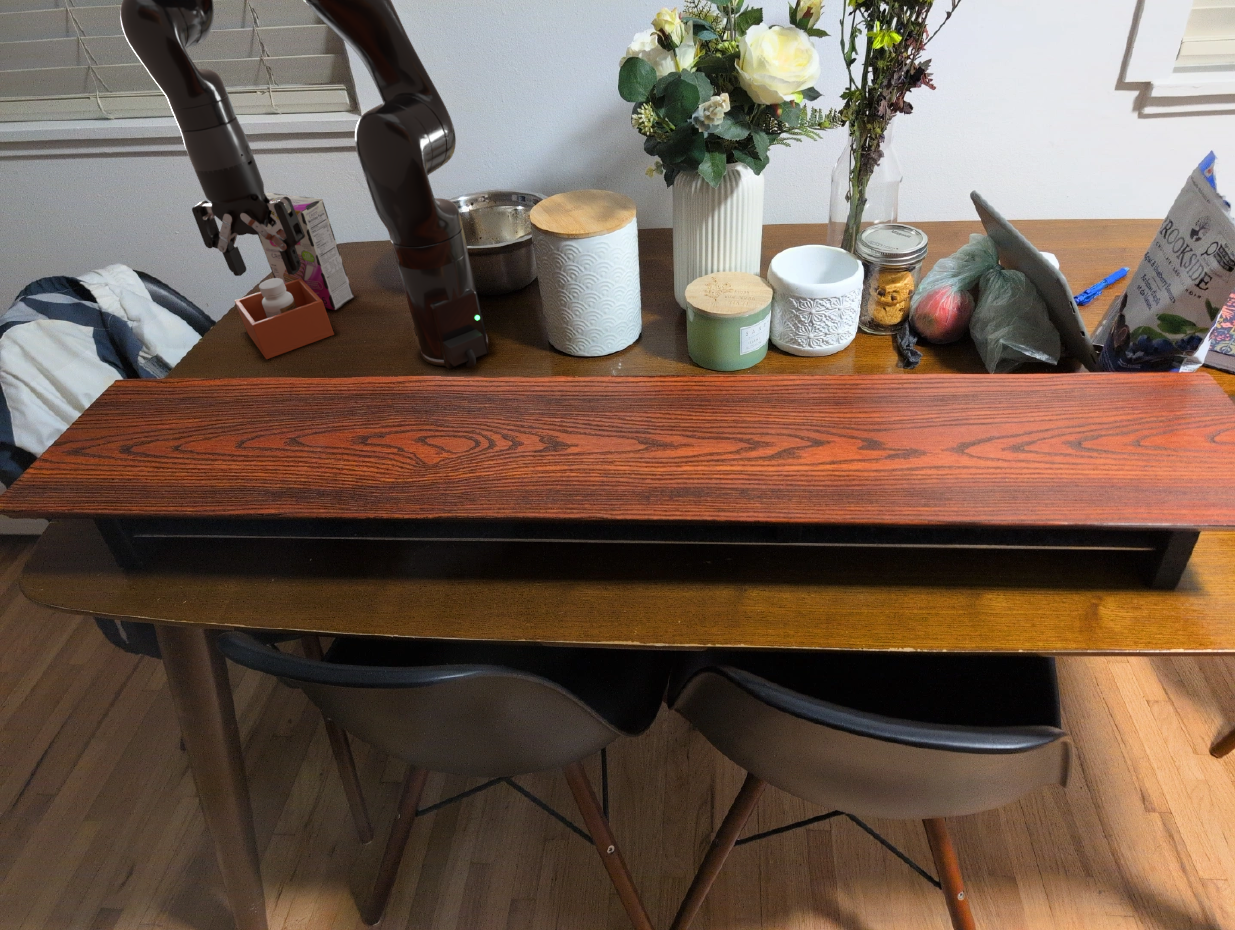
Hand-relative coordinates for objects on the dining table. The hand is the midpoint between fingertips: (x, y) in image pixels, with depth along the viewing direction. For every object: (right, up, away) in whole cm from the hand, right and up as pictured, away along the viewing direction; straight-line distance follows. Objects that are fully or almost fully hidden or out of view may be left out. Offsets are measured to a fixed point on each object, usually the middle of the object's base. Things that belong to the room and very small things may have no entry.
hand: (267, 272), depth 121 cm
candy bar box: (+2, -1, +15) cm, 15 cm away
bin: (+1, -8, +6) cm, 10 cm away
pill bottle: (+1, -7, +6) cm, 10 cm away
